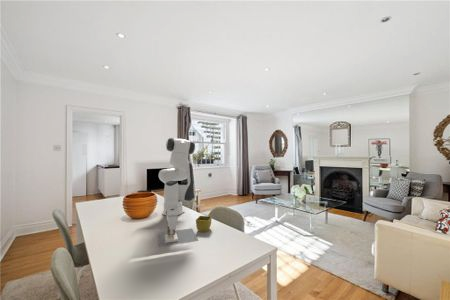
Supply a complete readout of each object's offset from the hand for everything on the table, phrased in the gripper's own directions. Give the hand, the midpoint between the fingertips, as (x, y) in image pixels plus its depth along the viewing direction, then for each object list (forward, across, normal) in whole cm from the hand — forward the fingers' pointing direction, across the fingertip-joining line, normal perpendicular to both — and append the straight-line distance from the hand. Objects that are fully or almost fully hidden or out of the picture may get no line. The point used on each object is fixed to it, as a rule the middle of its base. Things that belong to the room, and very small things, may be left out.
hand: (171, 231), depth 118 cm
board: (+5, -2, +4) cm, 7 cm away
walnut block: (+1, 0, 0) cm, 1 cm away
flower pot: (+6, -7, +22) cm, 24 cm away
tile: (+3, -3, 0) cm, 4 cm away
